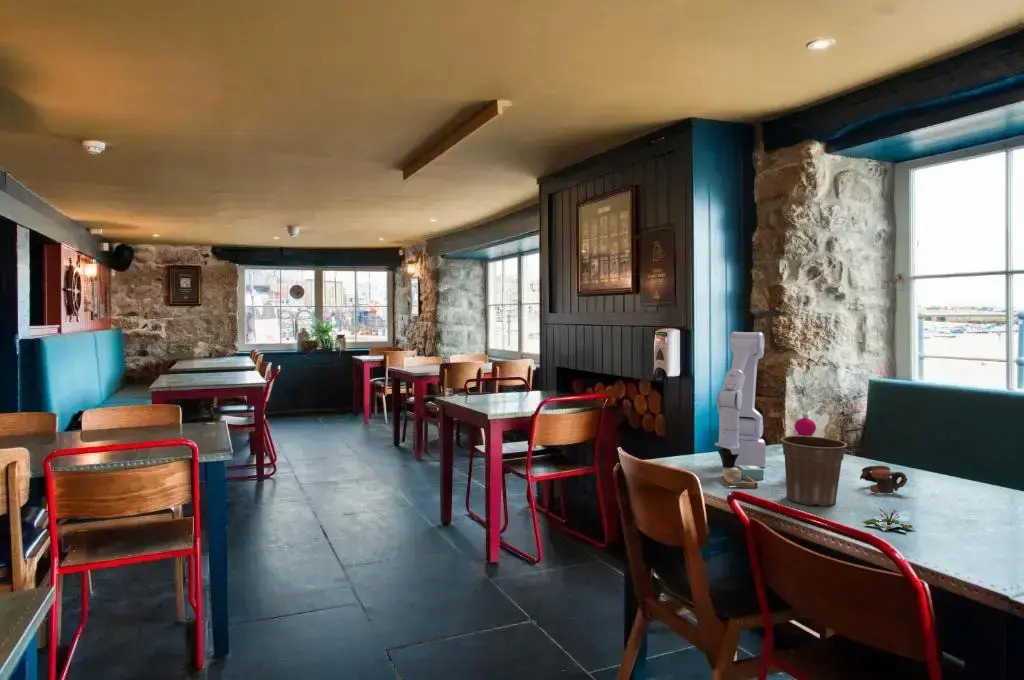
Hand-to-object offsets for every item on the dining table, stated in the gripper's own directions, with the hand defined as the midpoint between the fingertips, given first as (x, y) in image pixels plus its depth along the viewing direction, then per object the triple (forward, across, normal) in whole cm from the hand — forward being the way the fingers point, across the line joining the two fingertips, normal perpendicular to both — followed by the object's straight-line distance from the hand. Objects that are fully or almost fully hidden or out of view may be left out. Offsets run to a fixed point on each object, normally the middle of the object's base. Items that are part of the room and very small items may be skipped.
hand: (728, 473), depth 212 cm
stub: (+1, +4, 0) cm, 4 cm away
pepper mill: (+1, +2, +22) cm, 23 cm away
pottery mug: (+1, +16, +39) cm, 42 cm away
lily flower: (+2, +49, +24) cm, 54 cm away
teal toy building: (+1, +1, +6) cm, 7 cm away
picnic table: (+1, +10, 0) cm, 10 cm away
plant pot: (+1, +27, +15) cm, 31 cm away
